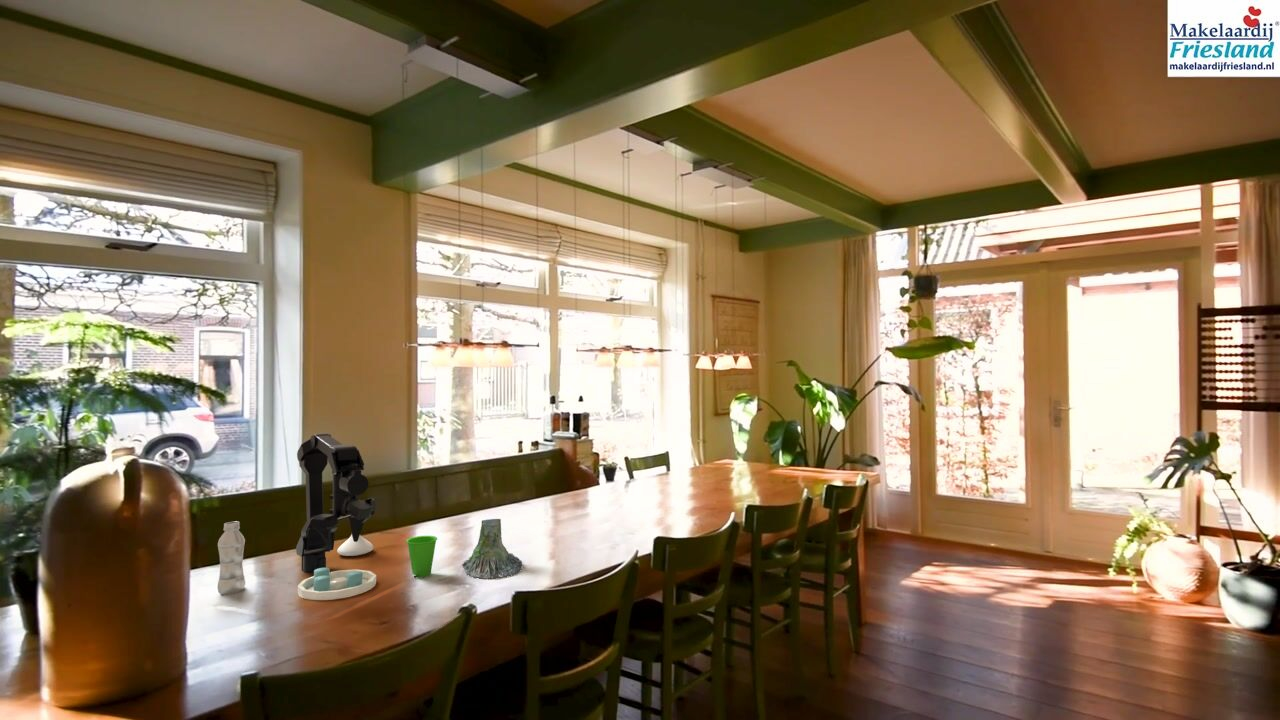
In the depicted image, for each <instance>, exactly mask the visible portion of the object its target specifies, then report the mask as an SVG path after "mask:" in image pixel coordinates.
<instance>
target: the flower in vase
mask: <svg viewBox="0 0 1280 720" xmlns="http://www.w3.org/2000/svg"><path fill="white" fill-rule="evenodd" d="M373 549H374V545H373V543H371V542H370V541H369V540H367V539H366V538H365V537H363V536H362V535H361V534H360V536H359V539H358V541H357V542H354V540H353V537H352V534H351V535H350V536H349V538H348V539H346V541H344V542H343V543H342V544H341V545H340V546H339V547H338V548H337V554H339V555H341V556H345V557H354V556H355V557H357V556H361V555H365V554H367V553H370V552H371V551H372V550H373Z"/></svg>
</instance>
